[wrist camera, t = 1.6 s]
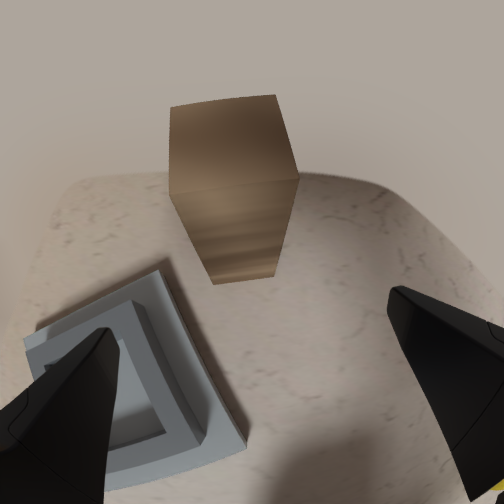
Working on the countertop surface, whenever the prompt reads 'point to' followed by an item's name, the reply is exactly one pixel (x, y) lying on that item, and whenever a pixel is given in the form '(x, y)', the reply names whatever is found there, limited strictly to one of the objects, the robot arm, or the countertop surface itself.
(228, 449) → the base plate
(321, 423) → the countertop surface
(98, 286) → the countertop surface
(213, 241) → the walnut column
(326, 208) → the countertop surface
